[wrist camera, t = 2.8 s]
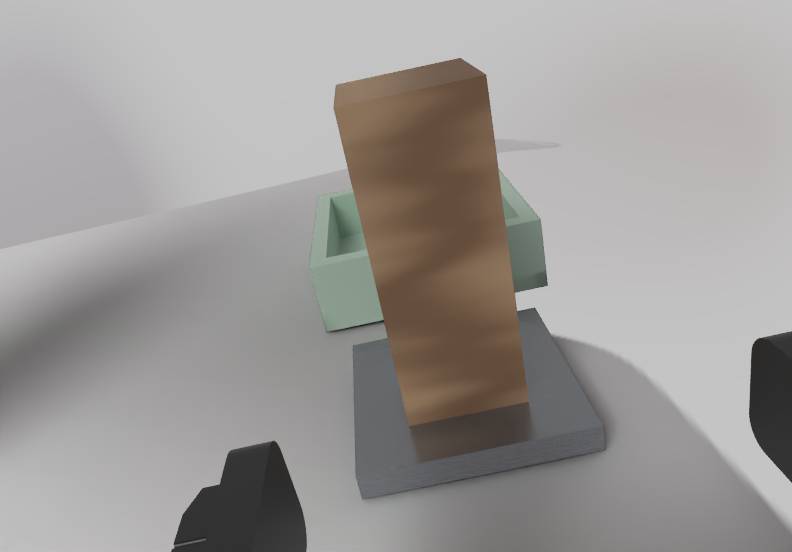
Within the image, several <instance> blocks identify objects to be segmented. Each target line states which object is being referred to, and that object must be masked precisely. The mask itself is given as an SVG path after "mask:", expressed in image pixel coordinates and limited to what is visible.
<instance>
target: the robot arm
mask: <svg viewBox="0 0 792 552" xmlns="http://www.w3.org/2000/svg"><path fill="white" fill-rule="evenodd" d="M750 382H751V383H750V408H749V417H750V423H751V427H752V430H753V433H754V436H755V438H756V440H757V442H758V443H759V445H760V447H761V448H762V450H763V451H764V452H765V453H766V455H767V456H768V457H769V458H770V459H771V460H772V461H773V462H774V464H775V465H776V466H777V467H778V468H779V469H780V470H781V471H782V472H783V474H785V476H786V477H787V478H788V479H789V480H790V481H791V482H792V332H787V333H782V334H778V335H773V336H769V337H764V338H759V339H757V340H756V341H755V342H754V344H753V347H752V355H751V380H750ZM306 549H307V538H306V527H305V521H304V516H303V512H302V508H301V505H300V502H299V500H298V497H297V494H296V491H295V488H294V486H293V483H292V480H291V477H290V475H289V472H288V469H287V466H286V464H285V461H284V458H283V455H282V452H281V450H280V448H279V446H278V444H277V443H276V442H275V441H272V442H267V443H262V444H258V445H253V446H248V447H244V448H239V449H234V450H231V451H230V452H229V453H228V455H227V459H226V462H225V466H224V470H223V474H222V478H221V482H220V485H216V486H211V487H206V488H202V490H201V491H200V492H199V494H198V495H197V496H196V498H195V499H194V501H193V502H192V503H191V505H190V506H189V507H188V509H187V510H186V511H185V513H184V514H183V516H182V519H181V522H180V525H179V528H178V532H177V535H176V538H175V541H174V549H172V551H171V552H306Z"/></svg>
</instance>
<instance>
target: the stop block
mask: <svg viewBox="0 0 792 552" xmlns="http://www.w3.org/2000/svg"><path fill="white" fill-rule="evenodd" d="M334 111H335V115H336V119H337V124H338V128H339V132H340V137H341V141H342V145H343V149H344V154H345V158H346V162H347V166H348V171H349V175H350V179H351V183H352V187H353V192H354V196H355V200H356V204H357V209H358V213H359V217H360V221H361V226H362V230H363V234H364V238H365V242H366V247H367V251H368V255H369V259H370V264H371V268H372V272H373V276H374V281H375V285H376V289H377V293H378V298H379V302H380V306H381V310H382V314H383V319H384V323H385V327H386V331H387V336H388V340H389V344H390V348H391V353H392V357H393V361H394V365H395V370H396V374H397V378H398V382H399V386H400V391H401V395H402V399H403V403H404V408H405V412H406V416H407V420H408V425H409V426H413V425H418V424H423V423H428V422H432V421H437V420H442V419H447V418H452V417H457V416H461V415H466V414H471V413H476V412H481V411H486V410H491V409H495V408H500V407H505V406H510V405H515V404H520V403H524V402H529V400H528V392H527V385H526V377H525V369H524V362H523V354H522V346H521V339H520V331H519V323H518V316H517V309H516V300H515V293H514V285H513V277H512V270H511V262H510V254H509V247H508V239H507V231H506V224H505V216H504V208H503V201H502V193H501V185H500V178H499V170H498V163H497V155H496V147H495V139H494V132H493V124H492V116H491V109H490V101H489V93H488V86H487V78H486V74H484V73H483V72H481V71H480V70H478V69H476V68H475V67H473V66H472V65H470V64H469V63H467V62H466V61H464V60H463V59H461V58H458V59H454V60H449V61H445V62H440V63H435V64H431V65H426V66H421V67H417V68H412V69H407V70H403V71H398V72H394V73H389V74H384V75H380V76H375V77H371V78H366V79H362V80H357V81H352V82H347V83H343V84H338V85H336V89H335V99H334Z"/></svg>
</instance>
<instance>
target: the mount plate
mask: <svg viewBox="0 0 792 552" xmlns="http://www.w3.org/2000/svg"><path fill="white" fill-rule="evenodd" d="M517 316H518V323H519V331H520V339H521V346H522V354H523V362H524V369H525V377H526V385H527V392H528V400H529V402H524V403H520V404H515V405H510V406H505V407H500V408H495V409H491V410H486V411H481V412H476V413H471V414H466V415H461V416H457V417H452V418H447V419H442V420H437V421H432V422H428V423H423V424H418V425H413V426H409V425H408V420H407V416H406V412H405V408H404V403H403V399H402V395H401V391H400V386H399V382H398V378H397V374H396V370H395V365H394V361H393V357H392V353H391V348H390V344H389V340H388V338H387V339H383V340H378V341H373V342H368V343H363V344H359V345H354V346H353V368H354V415H355V462H356V479H357V482H358V486H359V489H360V492H361V496H362V499H368V498H372V497H377V496H382V495H387V494H392V493H397V492H402V491H407V490H412V489H416V488H421V487H426V486H431V485H436V484H441V483H446V482H451V481H456V480H460V479H465V478H470V477H475V476H480V475H485V474H490V473H495V472H500V471H504V470H509V469H514V468H519V467H524V466H529V465H534V464H539V463H543V462H548V461H553V460H558V459H563V458H568V457H573V456H578V455H583V454H587V453H592V452H597V451H602V450H605V437H604V425H603V423H602V422H601V420H600V418H599V417H598V415H597V413H596V411H595V410H594V408H593V406H592V405H591V403H590V401H589V399H588V398H587V396H586V394H585V393H584V391H583V389H582V388H581V386H580V384H579V382H578V381H577V379H576V377H575V376H574V374H573V372H572V370H571V369H570V367H569V365H568V364H567V362H566V360H565V358H564V357H563V355H562V353H561V352H560V350H559V348H558V346H557V345H556V343H555V341H554V340H553V338H552V336H551V334H550V333H549V331H548V329H547V328H546V326H545V324H544V323H543V321H542V319H541V317H540V316H539V314H538V312H537V311H536V309H535V308H531V309H526V310H521V311H517Z"/></svg>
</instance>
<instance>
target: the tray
mask: <svg viewBox="0 0 792 552" xmlns="http://www.w3.org/2000/svg"><path fill="white" fill-rule="evenodd" d="M498 170H499V168H498ZM499 178H500V185H501V193H502V201H503V208H504V216H505V224H506V231H507V239H508V247H509V254H510V262H511V270H512V277H513V285H514V293H515V292H520V291H524V290H529V289H534V288H539V287H544V286H547V275H546V266H545V256H544V246H543V237H542V227H541V219H540V218H539V217H538V216H537V214H536V213H535V212H534V211H533V209H532V208H531V207H530V206H529V205H528V203H527V202H526V201H525V200H524V199H523V197H522V196H521V195H520V194H519V193H518V191H517V190H516V189H515V188H514V186H513V185H512V184H511V183H510V182H509V180H508V179H507V178H506V177H505V176H504V174H503V173H502V172H501V171H500V170H499ZM309 271H310V274H311V278H312V281H313V285H314V288H315V292H316V295H317V299H318V303H319V306H320V310H321V313H322V317H323V320H324V324H325V327H326V331H327V332H329V331H334V330H338V329H343V328H348V327H353V326H357V325H362V324H367V323H372V322H377V321H381V320H384V319H383V314H382V310H381V306H380V302H379V298H378V293H377V289H376V285H375V281H374V276H373V272H372V268H371V264H370V259H369V255H368V251H367V247H366V242H365V238H364V234H363V230H362V226H361V221H360V217H359V213H358V209H357V204H356V200H355V196H354V192H353V189H350V190H345V191H341V192H336V193H331V194H327V195H322V196H318V201H317V208H316V216H315V224H314V232H313V239H312V247H311V255H310V263H309Z"/></svg>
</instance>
